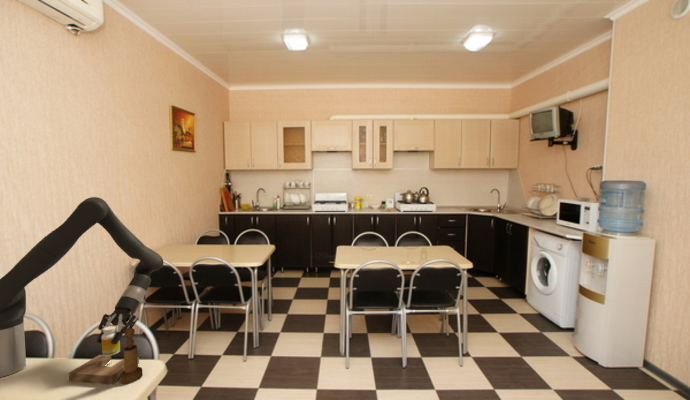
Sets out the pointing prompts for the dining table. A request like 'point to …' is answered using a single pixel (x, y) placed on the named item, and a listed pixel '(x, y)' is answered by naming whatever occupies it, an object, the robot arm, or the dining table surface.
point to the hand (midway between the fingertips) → (106, 343)
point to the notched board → (98, 371)
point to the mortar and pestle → (130, 360)
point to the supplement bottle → (109, 341)
